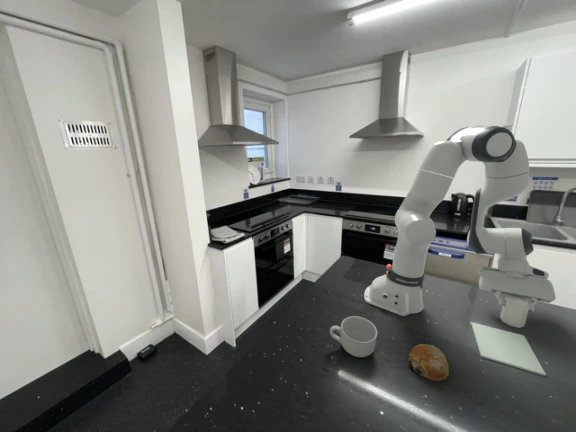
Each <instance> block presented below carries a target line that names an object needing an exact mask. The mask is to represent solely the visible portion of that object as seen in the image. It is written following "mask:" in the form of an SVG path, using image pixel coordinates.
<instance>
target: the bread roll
mask: <svg viewBox="0 0 576 432" xmlns="http://www.w3.org/2000/svg"><path fill="white" fill-rule="evenodd" d="M407 358H408V365H409V367H410V368H412V370H413V371H414V372H415V373H416V374H418V375H419V376H421V377H422V378H425V379H427V380H430V381H434V382H440V381H445V380H446V379H447V378H448V376H449V375H450V374H449V373H450V372H449V371H450V370H449V367H450V366H449V363H448V360H447V357H446V355H445V353H443V351H442V350H441V349H439V348H438V347H437V346H436V345H434V344H427V343H426V344H425V343H418V344H417V345H414V346H412V347H411V348H410V350H409V352H408V355H407Z"/></svg>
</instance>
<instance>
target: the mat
mask: <svg viewBox="0 0 576 432" xmlns="http://www.w3.org/2000/svg"><path fill="white" fill-rule="evenodd" d="M471 327H472V331H473V335H474V338H475V341H476V345H477V347H478V351H479V355H480V357H481V358H484V359H486V360H491V361H494V362H497V363H501V364H504V365H507V366H510V367H513V368H518V369H520V370H523V371H527V372H530V373H533V374H537V375H541V376H544V377H546V375H547V373H546V372H545V370H544V368H543V367H542V365H541V363H540V362H539V359H538V357H537V356H536V354H535V353H534V351H533V349H532V347H531V346H530V344H529V341H528V340H527V338H526V337H525V335H523V334H519V333H516V332H511V331H507V330H503V329H499V328H496V327H495V328H494V327H492V326H488V325H484V324H481V323H475V322H471Z"/></svg>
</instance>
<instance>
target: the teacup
mask: <svg viewBox="0 0 576 432" xmlns="http://www.w3.org/2000/svg"><path fill="white" fill-rule="evenodd" d="M334 331H338V332H339V335H340V336H338V335H337V334H335V333H334ZM329 334H330V336H331V338H333V339H334V340H335V341H337V342H338V343H339V344H341V345H342V347H343V349H344V351H346V352H347V353H348V354H349V355H351V356H354V357H355V358H366V357H368V356H371V354H373V352H374V350H375V348H376V343H377V336H378V330H377V327H376V326H375V324H374V323H373V322H371V320H368V319H367V318H365V317H362V316H358V315H354V316H353V315H352V316H347V317H346V318H344V319H343V320H342V321H341V324H340V326H339V325H333V326H331V327H330V329H329Z"/></svg>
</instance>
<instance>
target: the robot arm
mask: <svg viewBox="0 0 576 432" xmlns="http://www.w3.org/2000/svg"><path fill="white" fill-rule="evenodd" d="M465 161H470V162H482V163H483V165H484V175H485V180H484V183H483V185H482V186H481V188H479V189H477V190H476V191H475V195H474V197H473V204H472V210H471V217H470V227H469V228H470V229H469V231H468V233H467V237H466V245H467V247H468V249H469V250H470V251H472V252H473V253H475V254H477V255H489V254H492V255H493V254H495V255H497V261H496V266H497V267H489V266H481V267H479V269H478V276H480V277H479V281H478V287H479V289H480V290H481V291H485V292H491V293H493V294H494V295H493V296H494V297H495V298H496V300H497V301H498V306H505V305H506V303H505V302H506V300H504V299H503V298H502V297H501V295H505V296H506V295H516V296H520V297H522V298H524V299H526V300H528V301H529V305H530V307H529V310H528V312H530V313H533V312H535V305H537V303H538V302H541V303H547V304H549V303H551V302H554V301H555V300H556V299H557V297H556V291H555V288H554V286H553V283H552V282H551V280H549V279H548V278H549V272H547V271H546V270H542V269H539V268H536V267H534V266H531V265H529V263H530V262H529V261H528V260H527V259H528V258H527V257H528V256H529V255H531V254H532V253H533V252H534V251H535V250H534V246H533V233H531V232H529V231H528V230H527V229H525V228H523V227H504V228H502V227H500V228H499V227H495V228H493V227H491V228H490V227H487V228H486V227H484V223H485V216H486V211H488V209H489V208H491V207H492V206H495V205H497V204H499V203H502V202H505V201H509V200H511V199H513V198H516V197H517V196H519V195H521V194H522V193H523V192H524V191H525V190H526V189H527V188H528V187H529V182H530V173H531V171H530V162H529V157H528V152H527V149H526V147H525V144H524V142H523V141H521V140H519V139H516V138H515V136H514V133H513V132H512V131H511V130H509V129H508V128H506V127H504V126H499V125H492V126H489V125H488V126H487V125H486V126H485V125H476V126H475V125H474V126H470V127H462V128H460V129H458V130H455V131H454V132H452V134H450V136H449V137H448V138H447V139H445V140H439V141H437V142H435V143H433V144H432V146H431V147H430V149H429V150H428V151H427V154H426V155H425V156H424V157H423V161H422V162H421V164H420V166H419V168H418V171H417V173H416V174H415V178H414V180H413V183H412V184H411V187H410V189H409V191H408V192H407V195H406V196H405V198H404V199H403V201H402V203H401V204H400V206H399V208H398V209H397V211H396V213H395V215H394V223H395V226H396V228H397V231H398V232H397V234H398V235H397V241H396V244H395V248H394V250H393V257H392V264H390V263H388V264H387V265H386V266H385V268H386V269H385V270H386V272H385V274H384V275H381V276H378V277H376V278H374V280H373V281H372V283H371V284H370V285H369V286H367V287H366V289H365V290H364V293H363V298H364V301H365V303H368V304H370V305H373V306H375V307H378V308H380V309H383V310H386V311H388V312H390V313H391V312H392V313H394V314H397V315H399V316H401V317H406V316H408V315H410V314H418V313H420V312H423V310H424V302H423V288H424V285H425V271H424V270H425V266H426V265H425V264H426V259H427V255H428V251H429V249H430V246H431V243H433V241H434V240H435V237H436V235H437V230H436V225H435V223H434V221H433V219H432V218H431V217H430V216H431V215H432V212H434V210H435V209H436V208H437V206H438V205H440V203H441V202H443V201H444V199H445V197H446V196H447V193H448V191H449V189H450V187H451V185H452V183H453V180H454V179H455V176H456V174H457V172H458V169H459V168H460V166H461V165H462V164H463V163H464V162H465Z"/></svg>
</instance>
